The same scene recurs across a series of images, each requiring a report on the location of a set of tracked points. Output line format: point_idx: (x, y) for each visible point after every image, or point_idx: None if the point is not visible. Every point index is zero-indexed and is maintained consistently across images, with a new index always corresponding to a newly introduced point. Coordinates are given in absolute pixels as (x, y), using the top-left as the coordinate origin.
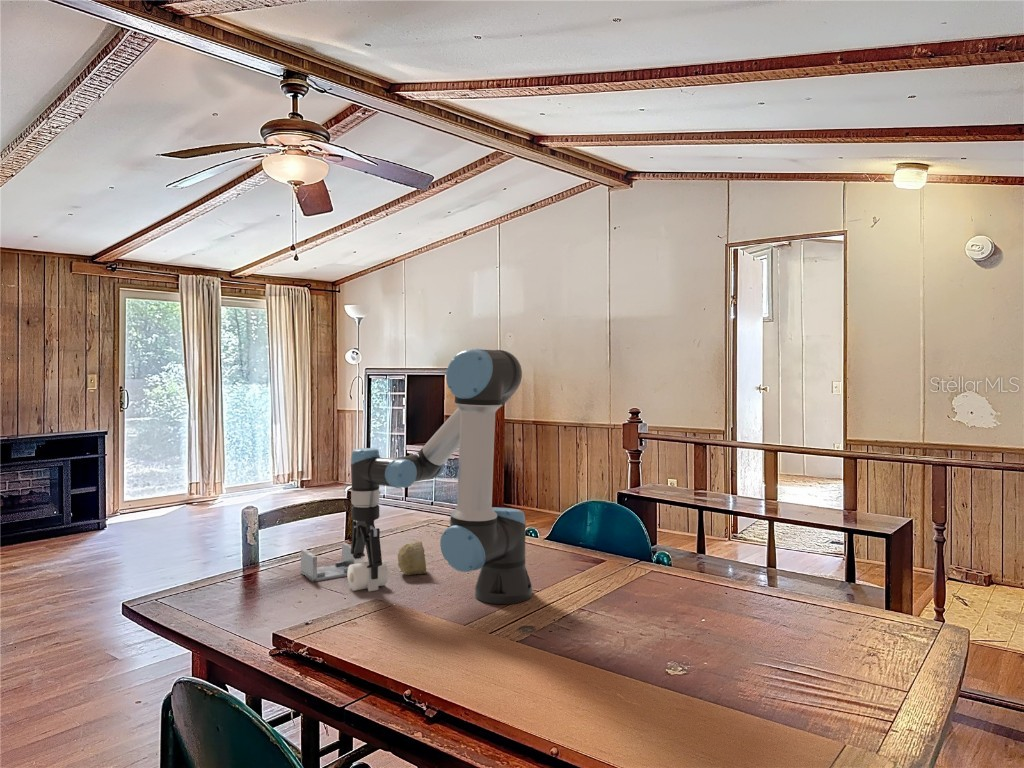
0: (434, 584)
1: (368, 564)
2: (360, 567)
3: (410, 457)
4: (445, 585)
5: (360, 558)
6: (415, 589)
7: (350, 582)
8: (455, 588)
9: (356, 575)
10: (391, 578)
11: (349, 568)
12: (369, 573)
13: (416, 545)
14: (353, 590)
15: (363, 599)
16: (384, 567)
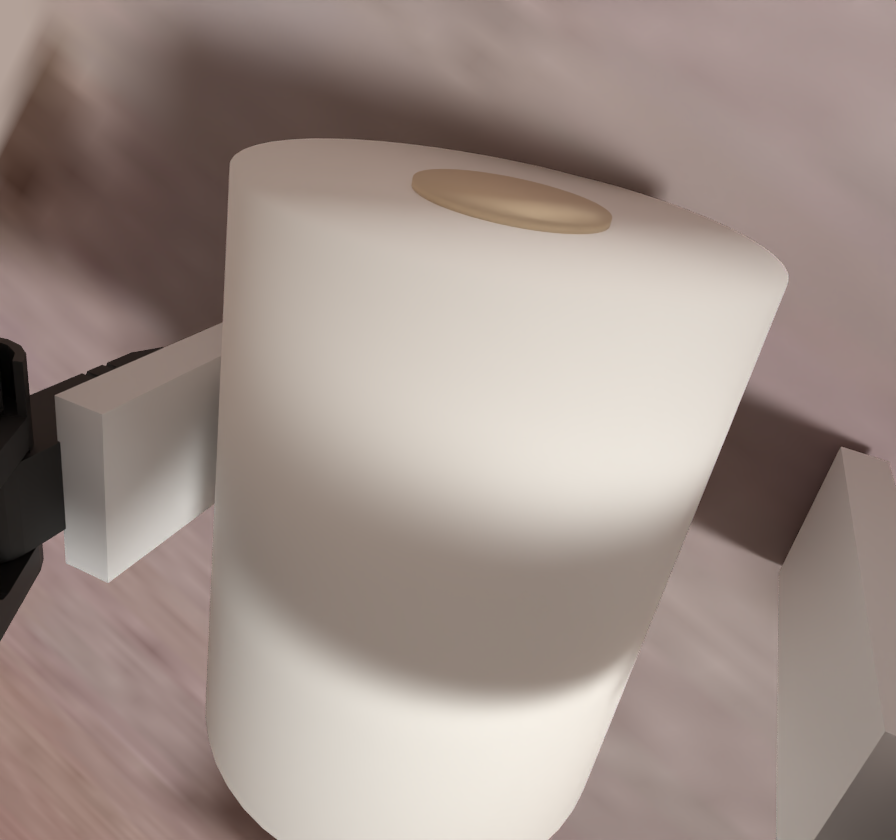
0: (165, 774)
1: (255, 553)
2: (247, 349)
3: None
4: (103, 781)
5: (815, 834)
6: (136, 613)
7: (624, 209)
8: (17, 750)
9: (239, 157)
10: (588, 791)
11: (617, 276)
12: (147, 367)
13: None
14: (514, 161)
15: (135, 42)
16: (207, 679)
